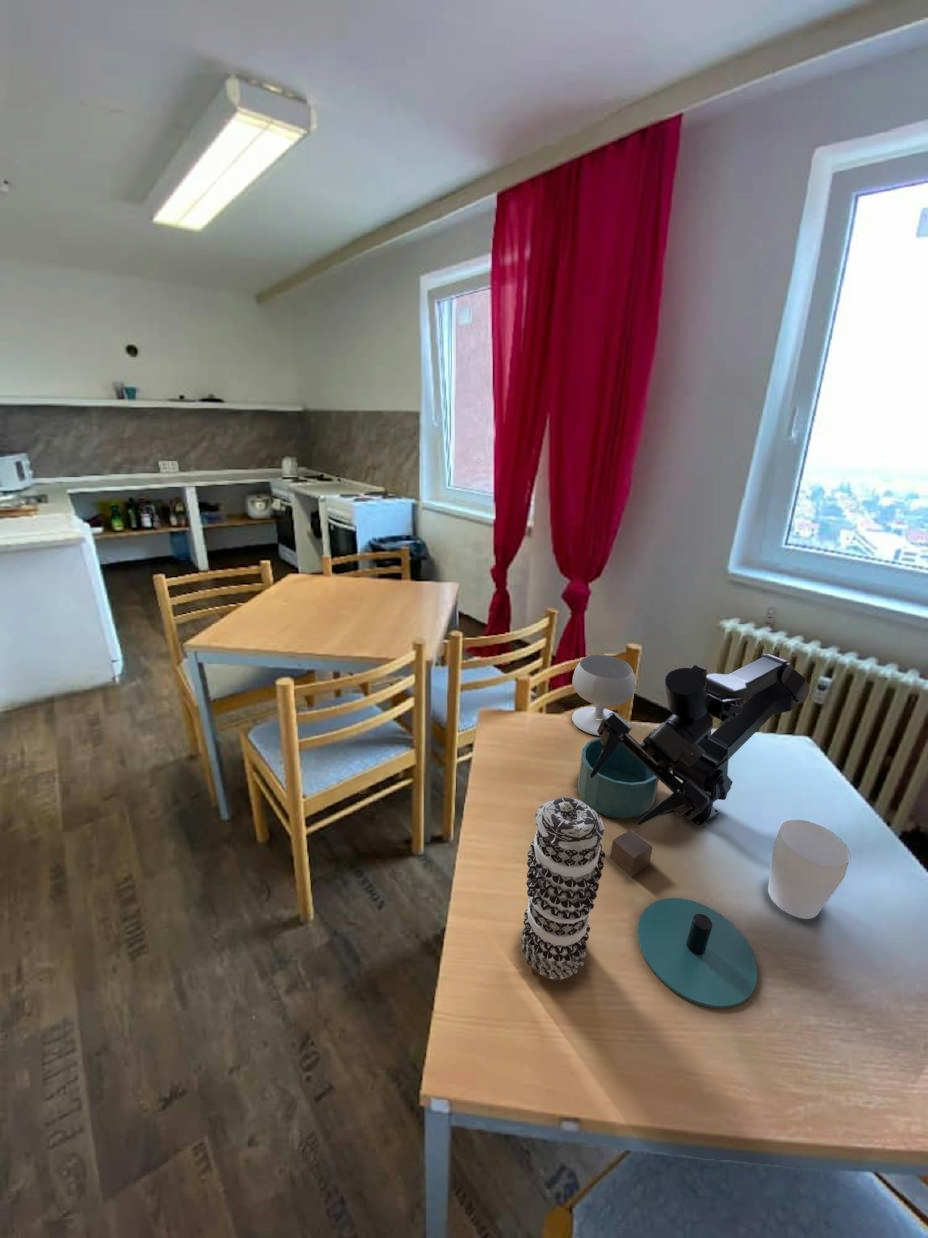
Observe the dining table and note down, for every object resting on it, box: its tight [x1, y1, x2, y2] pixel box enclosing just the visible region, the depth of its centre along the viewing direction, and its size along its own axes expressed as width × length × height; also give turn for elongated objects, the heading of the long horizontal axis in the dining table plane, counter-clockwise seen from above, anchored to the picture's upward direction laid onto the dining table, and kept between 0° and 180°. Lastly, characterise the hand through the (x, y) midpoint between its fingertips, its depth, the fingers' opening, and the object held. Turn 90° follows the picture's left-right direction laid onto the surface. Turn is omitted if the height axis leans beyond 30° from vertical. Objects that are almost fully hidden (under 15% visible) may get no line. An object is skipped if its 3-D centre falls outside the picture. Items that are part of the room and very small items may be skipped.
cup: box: [767, 819, 851, 920], centre depth 77 cm, size 9×9×12 cm
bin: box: [577, 736, 660, 820], centre depth 99 cm, size 14×14×8 cm
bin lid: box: [637, 897, 759, 1009], centre depth 70 cm, size 15×15×6 cm
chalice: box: [571, 654, 636, 737], centre depth 120 cm, size 14×14×15 cm
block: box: [609, 829, 654, 877], centre depth 84 cm, size 4×4×4 cm
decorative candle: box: [521, 797, 606, 981], centre depth 66 cm, size 9×9×25 cm
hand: (613, 800), depth 78 cm, fingers open, 9 cm apart
